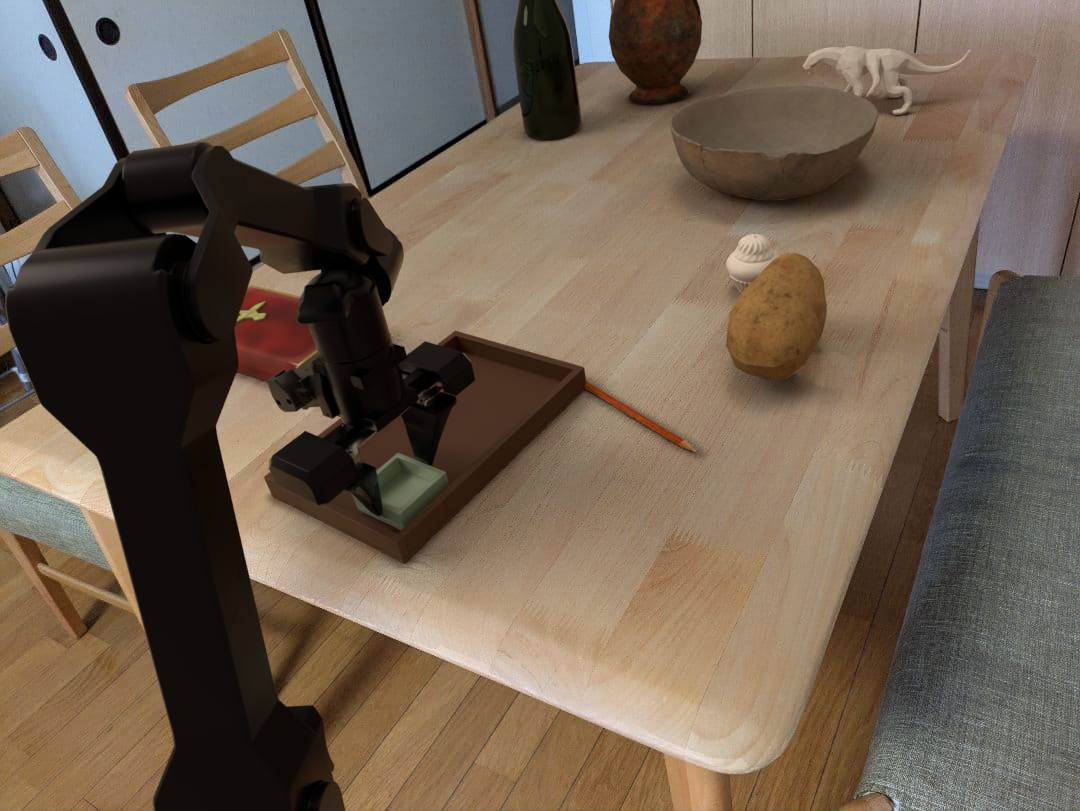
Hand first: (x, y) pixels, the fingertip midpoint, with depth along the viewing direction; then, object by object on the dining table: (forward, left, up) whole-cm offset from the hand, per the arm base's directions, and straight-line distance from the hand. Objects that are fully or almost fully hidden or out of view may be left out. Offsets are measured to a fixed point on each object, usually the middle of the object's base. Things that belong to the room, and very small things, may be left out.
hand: (401, 491), depth 74 cm
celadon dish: (0, 0, -1) cm, 1 cm away
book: (+13, +33, -2) cm, 36 cm away
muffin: (+47, -12, -2) cm, 48 cm away
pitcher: (+107, +33, -2) cm, 112 cm away
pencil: (+20, -11, -2) cm, 23 cm away
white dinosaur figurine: (+109, -5, -2) cm, 109 cm away
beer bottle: (+86, +45, -2) cm, 97 cm away
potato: (+35, -20, -2) cm, 40 cm away
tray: (+9, +4, -2) cm, 10 cm away
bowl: (+76, -1, -2) cm, 76 cm away
